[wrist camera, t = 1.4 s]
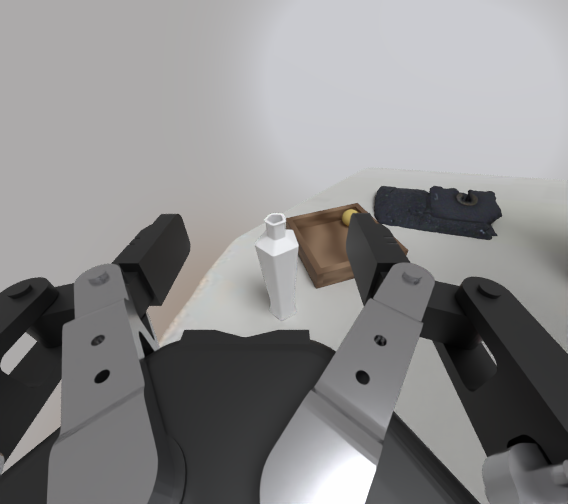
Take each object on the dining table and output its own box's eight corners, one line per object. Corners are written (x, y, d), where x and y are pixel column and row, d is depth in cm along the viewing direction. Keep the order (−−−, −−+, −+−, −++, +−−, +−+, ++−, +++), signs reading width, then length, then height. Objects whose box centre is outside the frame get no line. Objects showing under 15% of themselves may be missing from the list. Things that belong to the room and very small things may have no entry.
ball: (352, 218, 46) (355, 204, 44) (361, 227, 44) (364, 213, 42) (338, 221, 46) (340, 208, 44) (346, 231, 44) (348, 216, 41)
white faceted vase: (306, 306, 32) (309, 216, 22) (285, 327, 30) (277, 238, 20) (283, 289, 35) (275, 201, 25) (261, 307, 33) (244, 219, 22)
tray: (354, 216, 48) (357, 203, 46) (402, 264, 37) (408, 250, 35) (286, 231, 45) (285, 218, 43) (316, 288, 35) (317, 274, 32)
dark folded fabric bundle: (374, 190, 57) (379, 171, 54) (479, 201, 51) (491, 180, 48) (371, 226, 46) (376, 205, 43) (503, 244, 40) (520, 222, 37)
